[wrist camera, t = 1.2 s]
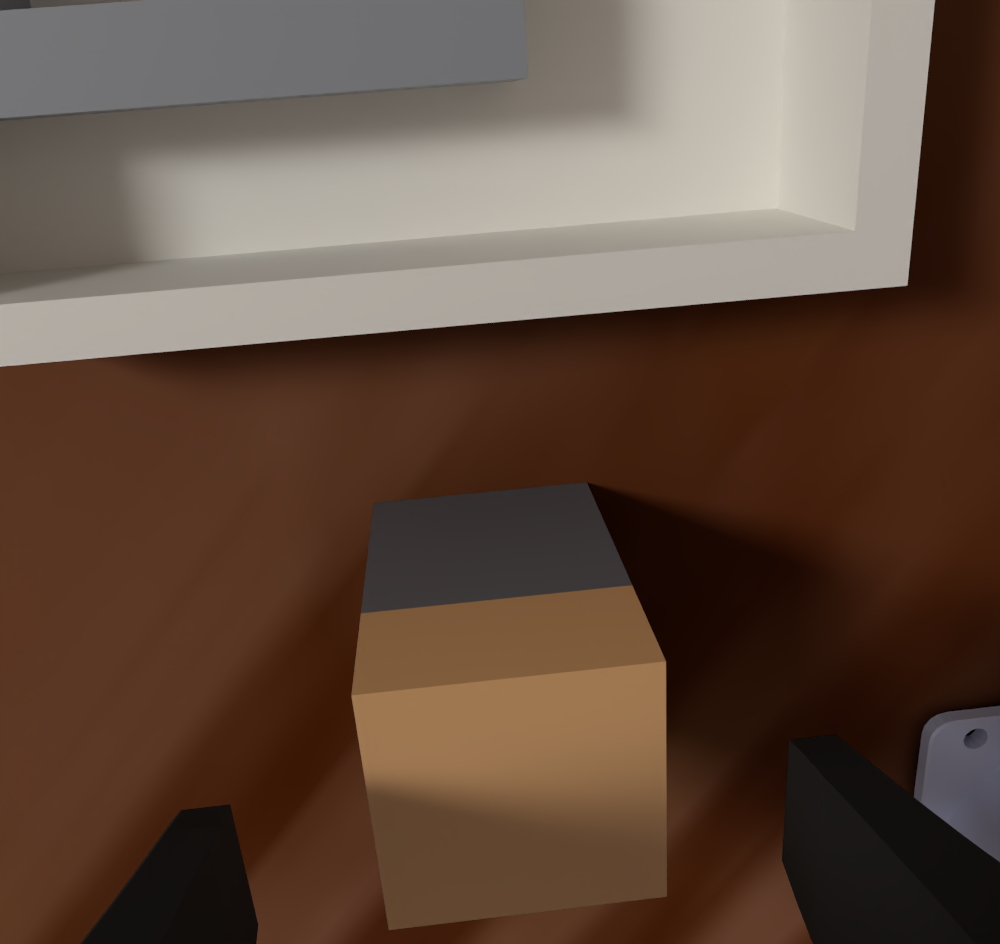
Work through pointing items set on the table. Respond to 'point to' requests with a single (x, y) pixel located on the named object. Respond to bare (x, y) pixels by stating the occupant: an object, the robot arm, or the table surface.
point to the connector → (508, 709)
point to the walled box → (441, 162)
